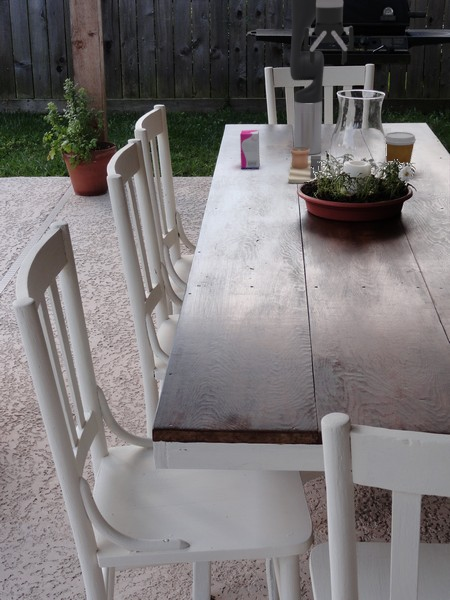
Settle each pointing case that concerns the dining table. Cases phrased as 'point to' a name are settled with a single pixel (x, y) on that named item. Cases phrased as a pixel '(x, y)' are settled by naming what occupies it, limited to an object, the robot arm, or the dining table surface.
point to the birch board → (305, 171)
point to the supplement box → (249, 149)
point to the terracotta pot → (299, 157)
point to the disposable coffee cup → (399, 146)
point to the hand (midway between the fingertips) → (328, 64)
